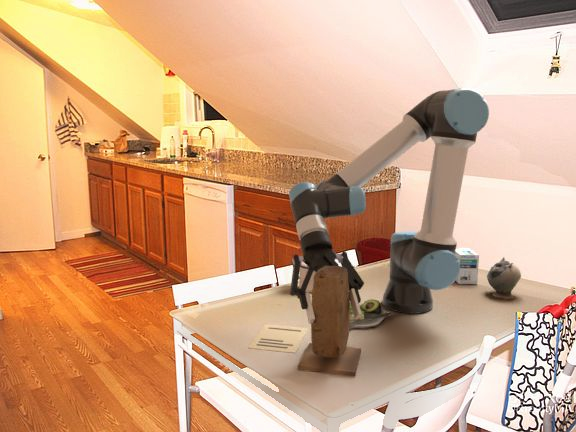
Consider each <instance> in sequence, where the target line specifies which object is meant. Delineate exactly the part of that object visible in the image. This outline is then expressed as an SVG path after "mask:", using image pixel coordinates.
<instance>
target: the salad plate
mask: <svg viewBox="0 0 576 432" xmlns="http://www.w3.org/2000/svg"><path fill="white" fill-rule="evenodd" d="M381 304H382V303H381V302H380V300H377V299H374V298H373V299H367V300H366V301H365V300H364V303H359V306H360V310H361V313H362V314H361V315H360V317H359V318H358V319H355V317H354V313H353V310H352V306H351V303H350V319H349V329H367V328H374V327H377V326H378V325H379V324H380V323H381V322H382V321H383V320H384V319H386V318H388V317H390V316H392V315H393V314H394V313H393V312H392V311H388V312H387V310H385V309H384V308H382V305H381Z"/></svg>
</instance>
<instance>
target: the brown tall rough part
mask: <svg viewBox="0 0 576 432" xmlns="http://www.w3.org/2000/svg"><path fill="white" fill-rule="evenodd" d="M311 303H312V307H313V312H314V316H315V320H314V321H313V323H312V324H310V327H311V328H310V334H311V335H310V336H311V337H310V338H311V341H310V342H311V343H312V351H313V353H314V354H316V355H320V356H322V357H328V358H332V357H338V356H341V355H343V354H344V352H345V350H346V347H348V340H349V333H350V328H349V319H350V294H349V283H348V272H347V269H346V268H345V267H342V265H341V266H340V265H339V266H323V267H322V268H321V269H319V270H318V271H317V272H316V274H315V275H314V284H313V290H312V293H311Z"/></svg>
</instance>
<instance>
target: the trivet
mask: <svg viewBox="0 0 576 432" xmlns="http://www.w3.org/2000/svg"><path fill="white" fill-rule="evenodd" d="M361 353H362V348H361V347H352V346H347V347H346V350H345V352H344V354H343V355H341V356H338V357H332V358H328V357H322V356H320V355H316V354H314V353H313V351H312V342H309V343H308V344H307V346H306V349H305V350H304V353H303V355H302V357H301V359H300V361H299V363H298V365H297V370H298V371H303V372H314V373H320V374H322V373H323V374H328V375H330V374H331V375H339V376H348V377H356V374H357V370H358V366H359V362H360V357H361Z"/></svg>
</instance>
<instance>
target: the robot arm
mask: <svg viewBox="0 0 576 432" xmlns="http://www.w3.org/2000/svg"><path fill="white" fill-rule="evenodd" d="M489 115H490V108H489V105H488V102H487V100H486V99H485V97H484V95H482V94H481V92H479V91H477V90H476V89H472V88H463V87H462V88H461V87H458V88H454V89H449V90H448V89H447V90H439V91H436V92H433V93H431V94H429V95H428V96H427V97H425V98H424V99H422V100H421V101H420V102H419V103H417V105H415V106H414V107H413V108H411V109H410V110H409V111H408V112H406V113H405V114H404V115H403V116H402V121H401V122H399V123H398V124H397V125H396V126H395V127H393V128H392V129H390V130H389V131H388V132H387V133H386V134H384V135H383V136H381V137H380V138H379V139H378V140H377V141H375V142H374V143H373V144H371V145H370V146H369V147H368V148H367V149H365V150H364V151H363V152H362V153H360V154H359V155H358V156H357V157H354V159H353V160H352V161H350V162H349V163H348V164H346V165H345V166H344V167H343V168H341V169H340V170H339V171H337V172H336V173H335V174H334V175H332V176H330V178H329V179H327V180H322V181H319V182H318V183H317V184H316V185H315V184H313V183H312V182H308V181H301V182H299V183H296V184H294V185H293V186H292V187H291V188H290V190H289V193H288V197H289V201H290V209H291V211H292V215H293V219H294V223H295V226H296V227H295V228H296V232H297V236H298V239H299V244H300V248H301V253H302V255H298V254H293V257H292V259H291V264H292V268H293V269H292V275H291V284H290V289H289V295H290V296H292V297H293V296H296V297H297V299H298V300H299V303H300V306H301V307H300V308H301V309H302V310H305V312H306V316H307V320H308V324H309V325H311V324H312V323H313V321H314V320H315V316H314V312H313V307H312V298H311V296H310V292H305V291H306V288H307V286H308V283H309V281H310V278H311V276H312V273H313V271H315V272H317V271H318V270H319V269H321V268H322V267H323V266H340V265H341V267H345V268H346V269H347V272H348V283H349V294H350V303H351V306H352V310H353V313H354V317H355V319H358V318H359V317H360V315H361V314H362V313H361V310H360V306H359V304H361V301H362V298H361V295H360V292H359V291H361V290H362V288H363V287H364V284H365V281H363V279H362V278H361V276H360V275H359V272H357V270H356V269H355V267H354V266H353V264H352V263H351V261H350V259H349V256H348V254H347V253H348V252H346V251H344V250H343V251H342V252H341V253H336V252H335V250H334V248H333V244H332V240H331V237H330V234H329V229H328V226H327V223H326V220H325V219H330V218H337V217H347V216H355V215H360V214H361V215H362V214H363V213H365V210H366V207H367V200H366V198H367V197H366V194H365V191H364V188H363V186H365V185H366V184H367V183H368V182H369V181H371V180H372V179H373V178H374V177H375V176H377V175H378V174H380V172H382V171H383V170H384V169H386V168H387V167H389V165H391V164H392V163H393V162H395V161H396V160H397V159H398V158H400V157H401V156H402V155H404V154H405V153H406V152H408V151H409V150H410V149H411V148H413V146H415V145H417V144H418V143H420V142H421V143H425V141H427V140H428V139H430V138H431V140H432V141H433V142H434V150H433V155H432V162H431V168H430V173H429V174H430V175H429V179H428V180H429V181H428V185H427V192H426V197H425V201H424V202H425V203H424V208H423V209H424V210H423V215H422V222H421V225H420V230H419V231H413V230H412V231H396V232H394V233H392V235H391V237H390V244H389V245H390V251H389V253H390V254H389V280H388V283H387V285H386V287H385V290H384V293H383V294H382V295H383V296H382V305H383V306H384V307H385V308H386V309H389V310H392V311H394V312H398V313H404V314H422V313H427V312H430V311H431V310H433V308H434V298H433V295H432V292H431V291H439V290H443V289H446V288H448V287H450V286H451V285H453V283H455V282H456V281H455V280H456V279H457V277H458V275H459V272H460V262H459V260H458V258H457V256H456V255H455V251H456V248H457V245H458V242H457V240H456V239H455V238H454V236H453V234H454V229H455V223H456V218H457V212H458V207H459V201H460V196H461V191H462V190H461V189H462V185H463V179H464V174H465V168H466V163H467V157H468V152H469V148H471V147H472V146H473V145H475V144H476V142H477V141H476V140H477V136H478V133H479V132H480V131H481V130H483V128H484V127H485V126H486V125H487V123H488V122H489V121H488V120H489V118H490V117H489ZM336 260H337V261H338V262H337V261H336ZM302 261H303V262H304V263H305V264H306V265H307V266H308V267H309V269H308V271H307V274H306V276H305V279H304V281H303V283H302V286H301V288H299V287H298V285H299V271H300V265H301V263H302ZM339 264H340V265H339Z"/></svg>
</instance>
